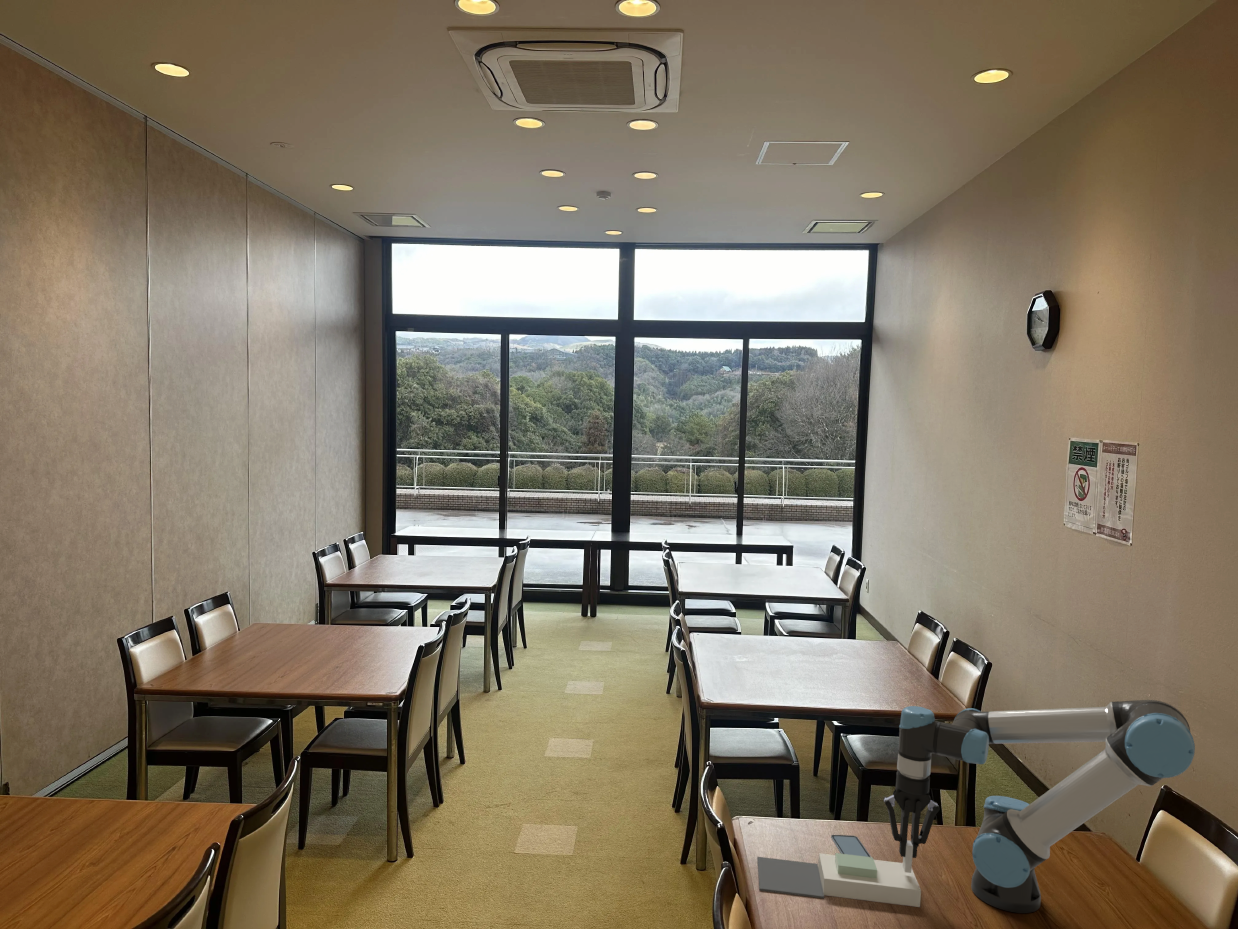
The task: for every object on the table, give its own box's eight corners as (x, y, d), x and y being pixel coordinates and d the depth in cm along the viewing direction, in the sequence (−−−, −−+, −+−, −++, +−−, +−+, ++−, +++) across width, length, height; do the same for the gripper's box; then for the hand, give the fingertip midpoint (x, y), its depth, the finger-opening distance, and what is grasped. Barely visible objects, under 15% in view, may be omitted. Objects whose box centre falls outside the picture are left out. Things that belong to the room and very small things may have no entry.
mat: (817, 865, 206) (817, 863, 206) (824, 898, 191) (824, 896, 191) (757, 858, 208) (757, 856, 208) (759, 890, 193) (759, 888, 193)
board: (908, 879, 202) (909, 864, 202) (919, 907, 190) (921, 890, 190) (818, 868, 205) (818, 853, 205) (823, 895, 193) (824, 878, 193)
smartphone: (856, 835, 223) (875, 863, 208) (856, 839, 223) (875, 866, 208) (829, 834, 223) (847, 862, 208) (829, 838, 223) (847, 865, 208)
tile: (872, 865, 200) (872, 857, 200) (876, 878, 194) (877, 870, 194) (834, 861, 201) (835, 853, 201) (837, 873, 195) (838, 865, 195)
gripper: (937, 769, 198) (931, 865, 199) (882, 764, 200) (876, 858, 201) (945, 782, 191) (939, 881, 191) (888, 776, 192) (881, 874, 193)
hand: (906, 869), depth 196 cm, fingers closed
